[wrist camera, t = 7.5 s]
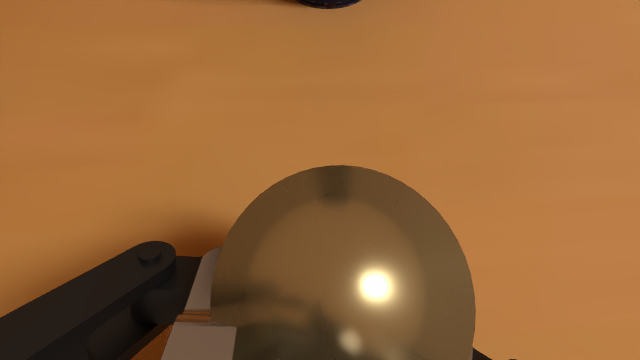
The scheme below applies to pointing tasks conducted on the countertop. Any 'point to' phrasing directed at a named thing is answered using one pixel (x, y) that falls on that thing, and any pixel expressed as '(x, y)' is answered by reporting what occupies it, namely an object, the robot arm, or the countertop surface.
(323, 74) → the countertop surface
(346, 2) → the storage jar
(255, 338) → the brass mushroom peg
